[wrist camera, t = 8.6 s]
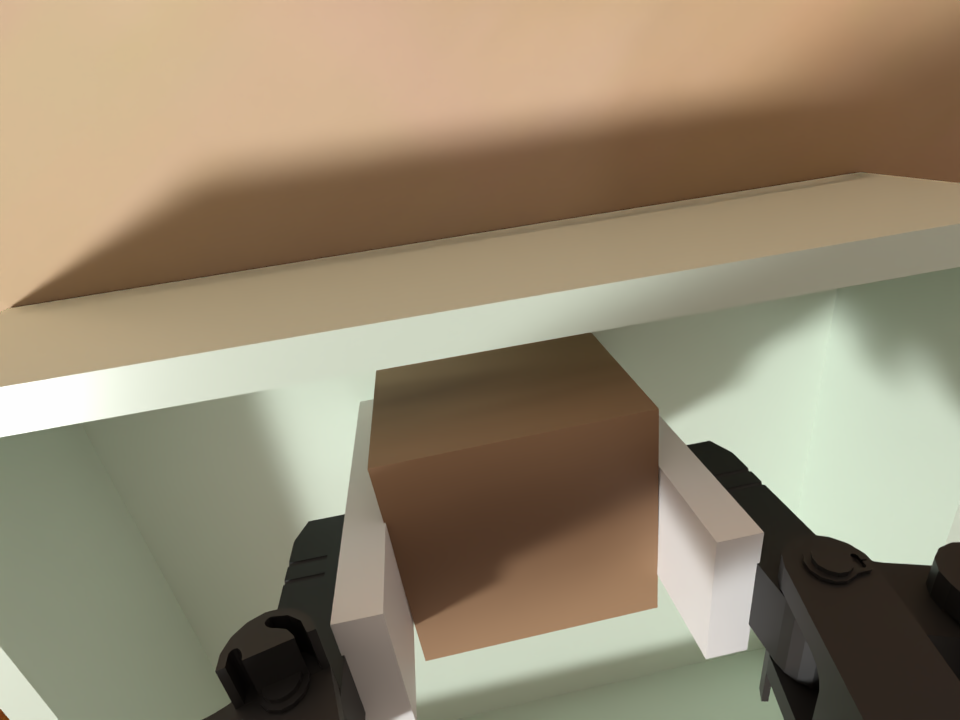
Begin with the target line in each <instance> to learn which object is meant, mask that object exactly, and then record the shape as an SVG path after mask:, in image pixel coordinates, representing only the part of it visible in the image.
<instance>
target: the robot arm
mask: <svg viewBox="0 0 960 720" xmlns="http://www.w3.org/2000/svg"><path fill="white" fill-rule="evenodd" d="M373 400H374V399H372V400H366V401H361V402H360V405H359V412H358V420H357V427H356V435H355V442H354V450H353V457H352V465H351V472H350V480H349V487H348V495H347V502H346V510H345V514H343V515H338V516H333V517H328V518H323V519H318V520H313V521H308V523H307V524H306V526H305V527H304V528H303V530H302V531H301V533H300V534H299V535H298V537H297V538H296V539H295V541H294V544H293V548H292V552H291V556H290V560H289V567H288V568H287V572H286V576H285V580H284V581H285V585H283V588H282V592H281V596H280V601H279V605H278V609H276V610H272V611H268V612H265V613H263V614H261V615H259V616H258V617H256V618H254V619H252V620H250V621H249V622H247V623H246V624H245V625H244V626H243V627H241V628H240V629H239V630H238V631H237V632H236V633H235V634H234V635H233V636H232V637H231V638H230V639H229V641H228V642H227V644H226V645H225V647H224V649H223V650H222V652H221V653H220V655H219V659H218V663H217V666H216V670H215V672H216V674H217V676H218V678H219V680H220V682H221V683H222V685H223V687H224V689H225V691H226V693H227V694H228V696H229V698H230V700H231V703H230V704H228V705H227V706H225V707H223V708H222V709H220V710H219V711H217V712H216V713H214V714H212V715H210V716H208V717H206V718H204V719H202V720H417V711H416V680H415V650H414V621H413V618H412V614H411V611H410V608H409V605H408V601H407V598H406V595H405V591H404V588H403V585H402V581H401V577H400V574H399V570H398V566H397V563H396V559H395V555H394V552H393V548H392V544H391V541H390V537H389V533H388V530H387V526H386V523H384V522H383V519H382V515H381V512H380V509H379V506H378V502H377V499H376V496H375V492H374V489H373V486H372V482H371V479H370V476H369V473H368V469H367V468H368V457H369V445H370V434H371V423H372V411H373ZM657 575H658V576H659V578H660V580H661V582H662V583H663V585H664V587H665V589H666V590H667V592H668V594H669V596H670V597H671V599H672V601H673V603H674V604H675V606H676V608H677V610H678V611H679V613H680V615H681V617H682V618H683V620H684V622H685V624H686V625H687V627H688V629H689V630H690V632H691V634H692V636H693V637H694V639H695V641H696V643H697V644H698V646H699V648H700V650H701V651H702V653H703V655H704V657H705V658H706V659H709V658H714V657H718V656H722V655H727V654H731V653H735V652H740V651H744V650H747V647H748V641H749V634H750V627H751V628H752V630H753V631H754V633H755V634H756V636H757V637H758V638H759V640H760V641H761V643H762V644H763V646H764V647H765V648H766V650H765V656H764V662H763V668H762V674H761V680H760V686H759V690H760V697H761V701H764V702H768V700H769V695H770V689H771V687H772V690H773V692H774V695H775V697H776V700H777V703H778V705H779V708H780V710H781V713H782V716H783V718H784V720H960V542H951V543H949V544H946V545H944V546H942V547H940V548H939V549H938V551H937V553H936V555H935V558H934V561H933V563H932V565H916V564H899V563H883V562H876V561H872V560H871V559H870V558H869V557H868V556H867V555H866V554H865V553H863V552H862V551H860V550H858V549H857V548H855V547H853V546H852V545H850V544H848V543H846V542H843V541H840V540H837V539H834V538H831V537H827V536H818V535H816V534H814V533H813V532H812V531H811V530H810V529H809V528H808V527H807V526H806V525H805V524H804V523H803V522H802V521H801V520H800V519H799V518H798V517H797V516H796V515H795V514H794V513H793V512H792V511H791V510H790V509H789V508H788V507H787V506H786V505H785V504H784V503H783V502H782V501H781V500H780V499H779V498H778V497H777V496H776V495H775V494H774V493H773V492H772V491H771V490H770V489H769V488H768V487H767V486H766V485H762V482H761V480H760V479H759V478H758V477H757V476H756V475H755V474H754V473H753V472H752V471H750V472H749V470H748V467H747V466H746V465H745V464H744V463H743V462H742V461H741V460H740V459H739V458H738V457H736V456H735V455H734V454H733V453H732V452H731V451H729V450H727V449H725V448H723V447H721V446H719V445H717V444H715V443H713V442H711V441H705V442H700V443H695V444H690V445H686V444H685V443H684V442H683V441H682V440H681V439H680V438H679V436H678V435H677V434H676V433H675V432H674V431H673V430H672V429H671V428H670V426H669V425H668V424H667V423H666V422H665V421H664V420H663V419H662V417H661V416H660V415H659V477H658V567H657Z"/></svg>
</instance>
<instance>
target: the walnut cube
mask: <svg viewBox="0 0 960 720" xmlns="http://www.w3.org/2000/svg"><path fill="white" fill-rule="evenodd" d="M367 469H368V473H369V476H370V479H371V482H372V486H373V489H374V492H375V496H376V499H377V502H378V506H379V509H380V512H381V515H382V519H383V522H384V523H386V526H387V530H388V533H389V537H390V541H391V544H392V548H393V552H394V555H395V559H396V563H397V566H398V570H399V574H400V577H401V581H402V585H403V588H404V591H405V595H406V598H407V601H408V605H409V608H410V611H411V614H412V618H413V621H414V624H415V628H416V631H417V634H418V638H419V641H420V644H421V647H422V651H423V654H424V657H425V661H429V660H433V659H437V658H442V657H446V656H450V655H455V654H459V653H463V652H468V651H472V650H476V649H481V648H485V647H489V646H494V645H498V644H502V643H507V642H511V641H515V640H519V639H524V638H528V637H532V636H537V635H541V634H545V633H550V632H554V631H558V630H563V629H567V628H571V627H576V626H580V625H584V624H589V623H593V622H597V621H602V620H606V619H610V618H614V617H619V616H623V615H627V614H632V613H636V612H640V611H645V610H649V609H653V608H658V575H657V567H658V477H659V408H658V407H657V406H656V405H655V404H654V403H653V401H652V400H651V399H650V398H649V397H648V396H647V395H646V394H645V392H644V391H643V390H642V389H641V388H640V387H639V386H638V385H637V383H636V382H635V381H634V380H633V379H632V378H631V377H630V376H629V374H628V373H627V372H626V371H625V370H624V369H623V368H622V367H621V365H620V364H619V363H618V362H617V361H616V360H615V359H614V358H613V356H612V355H611V354H610V353H609V352H608V351H607V350H606V348H605V347H604V346H603V345H602V344H601V343H600V342H599V341H598V339H597V338H596V337H595V336H594V335H593V334H592V333H591V332H590V333H584V334H579V335H573V336H567V337H562V338H556V339H551V340H545V341H539V342H534V343H528V344H522V345H517V346H511V347H506V348H500V349H494V350H489V351H483V352H477V353H472V354H466V355H460V356H455V357H449V358H444V359H438V360H432V361H427V362H421V363H415V364H410V365H404V366H399V367H393V368H387V369H382V370H376V377H375V389H374V400H373V411H372V423H371V434H370V445H369V457H368V468H367Z"/></svg>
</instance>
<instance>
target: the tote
mask: <svg viewBox="0 0 960 720" xmlns="http://www.w3.org/2000/svg"><path fill="white" fill-rule="evenodd" d="M590 332H591V333H592V334H593V335H594V336H595V337H596V338H597V339H598V341H599V342H600V343H601V344H602V345H603V346H604V347H605V348H606V350H607V351H608V352H609V353H610V354H611V355H612V356H613V358H614V359H615V360H616V361H617V362H618V363H619V364H620V365H621V367H622V368H623V369H624V370H625V371H626V372H627V373H628V374H629V376H630V377H631V378H632V379H633V380H634V381H635V382H636V383H637V385H638V386H639V387H640V388H641V389H642V390H643V391H644V392H645V394H646V395H647V396H648V397H649V398H650V399H651V400H652V401H653V403H654V404H655V405H656V406H657V407H658V408H659V415H660V416H661V417H662V419H663V420H664V421H665V422H666V423H667V424H668V425H669V426H670V428H671V429H672V430H673V431H674V432H675V433H676V434H677V435H678V436H679V438H680V439H681V440H682V441H683V442H684V443H685V444H686V445H690V444H695V443H700V442H705V441H711V442H713V443H715V444H717V445H719V446H721V447H723V448H725V449H727V450H729V451H731V452H732V453H733V454H734V455H735V456H736V457H738V458H739V459H740V460H741V461H742V462H743V463H744V464H745V465H746V466H747V467H748V470H749V472H750V471H752V472H753V473H754V474H755V475H756V476H757V477H758V478H759V479H760V480H761V482H762V485H766V486H767V487H768V488H769V489H770V490H771V491H772V492H773V493H774V494H775V495H776V496H777V497H778V498H779V499H780V500H781V501H782V502H783V503H784V504H785V505H786V506H787V507H788V508H789V509H790V510H791V511H792V512H793V513H794V514H795V515H796V516H797V517H798V518H799V519H800V520H801V521H802V522H803V523H804V524H805V525H806V526H807V527H808V528H809V529H810V530H811V531H812V532H813V533H814V534H816V535H818V536H827V537H831V538H834V539H837V540H840V541H843V542H846V543H848V544H850V545H852V546H853V547H855V548H857V549H858V550H860V551H862V552H863V553H865V554H866V555H867V556H868V557H869V558H870V559H871V560H872V561H876V562H883V563H899V564H916V565H932V563H933V561H934V558H935V555H936V553H937V551H938V549H939V548H940V547H942V546H944V545H946V544H949V543H951V542H960V183H956V182H947V181H938V180H929V179H920V178H911V177H902V176H893V175H883V174H874V173H865V172H858V173H852V174H845V175H839V176H833V177H826V178H820V179H814V180H808V181H801V182H795V183H789V184H783V185H776V186H770V187H764V188H758V189H751V190H745V191H739V192H733V193H726V194H720V195H714V196H708V197H701V198H695V199H689V200H683V201H676V202H670V203H664V204H658V205H651V206H645V207H639V208H633V209H626V210H620V211H614V212H608V213H601V214H595V215H589V216H583V217H576V218H570V219H564V220H558V221H551V222H545V223H539V224H533V225H526V226H520V227H514V228H508V229H501V230H495V231H489V232H483V233H476V234H470V235H464V236H458V237H451V238H445V239H439V240H433V241H426V242H420V243H414V244H408V245H401V246H395V247H389V248H383V249H376V250H370V251H364V252H357V253H351V254H345V255H339V256H332V257H326V258H320V259H314V260H307V261H301V262H295V263H289V264H282V265H276V266H270V267H264V268H257V269H251V270H245V271H239V272H232V273H226V274H220V275H214V276H207V277H201V278H195V279H189V280H182V281H176V282H170V283H164V284H157V285H151V286H145V287H139V288H132V289H126V290H120V291H114V292H107V293H101V294H95V295H89V296H82V297H76V298H70V299H64V300H57V301H51V302H45V303H39V304H32V305H26V306H20V307H14V308H8V309H6V310H3V311H1V312H0V709H1V710H2V711H3V712H4V714H5V715H6V716H7V717H8V718H9V719H10V720H202V719H204V718H206V717H208V716H210V715H212V714H214V713H216V712H217V711H219V710H220V709H222V708H223V707H225V706H227V705H228V704H230V703H231V700H230V698H229V696H228V694H227V693H226V691H225V689H224V687H223V685H222V683H221V682H220V680H219V678H218V676H217V674H216V672H215V670H216V666H217V663H218V659H219V655H220V653H221V652H222V650H223V649H224V647H225V645H226V644H227V642H228V641H229V639H230V638H231V637H232V636H233V635H234V634H235V633H236V632H237V631H238V630H239V629H240V628H241V627H243V626H244V625H245V624H246V623H247V622H249V621H250V620H252V619H254V618H256V617H258V616H259V615H261V614H263V613H265V612H268V611H272V610H276V609H278V605H279V601H280V596H281V592H282V588H283V585H285V581H284V580H285V576H286V572H287V568H288V567H289V560H290V556H291V552H292V548H293V544H294V541H295V539H296V538H297V537H298V535H299V534H300V533H301V531H302V530H303V528H304V527H305V526H306V524H307V523H308V521H313V520H318V519H323V518H328V517H333V516H338V515H343V514H345V510H346V502H347V495H348V487H349V480H350V472H351V465H352V457H353V450H354V442H355V435H356V427H357V420H358V412H359V405H360V402H361V401H366V400H372V399H374V389H375V377H376V370H382V369H387V368H393V367H399V366H404V365H410V364H415V363H421V362H427V361H432V360H438V359H444V358H449V357H455V356H460V355H466V354H472V353H477V352H483V351H489V350H494V349H500V348H506V347H511V346H517V345H522V344H528V343H534V342H539V341H545V340H551V339H556V338H562V337H567V336H573V335H579V334H584V333H590ZM414 650H415V680H416V711H417V720H784V718H783V716H782V713H781V710H780V708H779V705H778V703H777V700H776V697H775V695H774V692H773V690H772V687H771V689H770V695H769V700H768V702H764V701H761V697H760V690H759V686H760V680H761V674H762V668H763V662H764V656H765V650H766V648H765V647H764V646H763V644H762V643H761V641H760V640H759V638H758V637H757V636H756V634H755V633H754V631H753V630H752V628H751V627H750V634H749V641H748V647H747V650H744V651H740V652H735V653H731V654H727V655H722V656H718V657H714V658H709V659H706V658H705V657H704V655H703V653H702V651H701V650H700V648H699V646H698V644H697V643H696V641H695V639H694V637H693V636H692V634H691V632H690V630H689V629H688V627H687V625H686V624H685V622H684V620H683V618H682V617H681V615H680V613H679V611H678V610H677V608H676V606H675V604H674V603H673V601H672V599H671V597H670V596H669V594H668V592H667V590H666V589H665V587H664V585H663V583H662V582H661V580H660V578H659V576H658V608H653V609H649V610H645V611H640V612H636V613H632V614H627V615H623V616H619V617H614V618H610V619H606V620H602V621H597V622H593V623H589V624H584V625H580V626H576V627H571V628H567V629H563V630H558V631H554V632H550V633H545V634H541V635H537V636H532V637H528V638H524V639H519V640H515V641H511V642H507V643H502V644H498V645H494V646H489V647H485V648H481V649H476V650H472V651H468V652H463V653H459V654H455V655H450V656H446V657H442V658H437V659H433V660H429V661H425V657H424V654H423V651H422V647H421V644H420V641H419V638H418V634H417V631H416V628H415V624H414Z"/></svg>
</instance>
